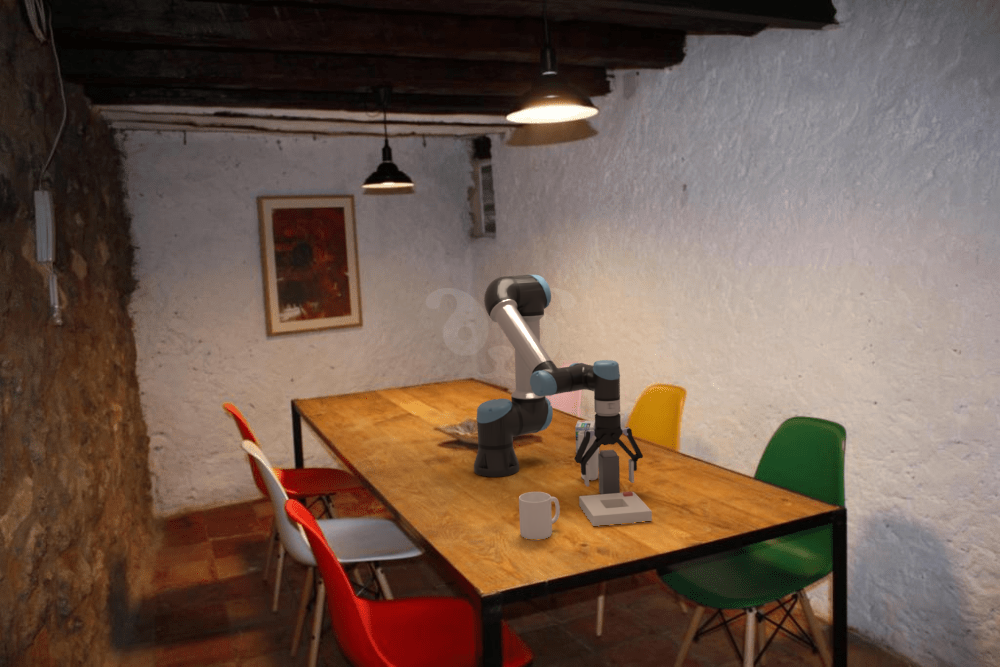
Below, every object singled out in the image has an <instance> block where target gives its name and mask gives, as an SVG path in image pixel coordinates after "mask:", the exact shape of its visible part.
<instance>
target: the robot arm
mask: <svg viewBox="0 0 1000 667" xmlns="http://www.w3.org/2000/svg"><path fill="white" fill-rule="evenodd" d="M551 302H552V291H551V288H550V285H549V283H548V282H547V281H546V279H545V277H543V276H541V275H538V274H521V275H509V276H507V275H506V276H503V275H502V276H499V277H497V278H495V279H494V280H492V281H491V282H489V284H488V285H487V287H486V289H485V293H484V298H483V303H484V308H485V311H486V313H487V315H488V317H489V318H490V319H491V321H492V322H494V323H497V324H498V326H499V327H500V329H501V330H502V332H503V333H504V335H505V336H506V338H507V339H508V341H509V342H510V344H511V346H512V347H513V349H514V371H515V372H514V373H515V374H514V375H515V381H514V382H515V390H514V391H513V392H512V393H511V395H510V397H511V400H510V399H508V398H498V399H496V398H495V399H491V400H487V401H484V402H481V403H480V404H479V405H478V407H477V409H476V424H477V425H476V426H477V427H476V429H477V445H478V446H477V447H478V448H477V453H476V456H475V459H474V464H473V472H474V473H475V474H477V475H478V476H481V475H482V476H481V477H486V476H487V478H497V477H498V478H500V477H506V476H511V475H514V474H516V473H518V472H519V471H520V463H519V460H518V457H517V454H516V451H515V449H514V438H515V437H519V436H525V435H528V434H529V435H530V434H536V433H539V432H542V431H545V430H546V429H547V428H548V427H550V425H551V423H552V420H553V415H554V414H553V413H554V412H553V409H554V408H553V406H552V405H551V404H552V402H551V400H550V399H548V398H547V397H550V396H553V395H558V394H564V393H570V392H576V391H577V392H578V391H583V390H584V391H585V390H586V391H592V392H593V396H594V398H593V399H594V400H593V401H594V405H593V406H594V413H595V414H594V421H595V430H594V431H588V430H585V432H584V438H583V440H582V443H581V445H580V447H579V449H578V452H577V454H576V453H575V456H574V462H576V463H577V464H581V465H580V474H581V473H582V475H584V479H585V480H584V479H583V480H584V485H585V486H586V487H590V481H589V465H588V464H587V462H588V460H589V459H590V458H591V457H592V455H593V454H594V453H595V451H596V450H597V449H598V448H599V447H601V446H602V445H603V446H608V445H611V446H612V445H616V443H617V445H618V446H619V447H621V449H622V450H624V452H625V453H626V454H627V456H629V458H628V480H629V482H630V483H633V484H634V483H635V472H637V471H638V461H639V459H643V457H644V455H643V453H642V451H641V449H640V448H639V445H638V443H637V442H636V439H635V438H634V436H633V431H632V428H630V427H629V426H625V428H622V425H621V424H622V423H621V419H622V418H621V413H620V412H621V388H620V387H621V382H620V381H621V380H620V379H621V374H620V366H619V365H620V364H619V362H618V361H616V360H610V359H604V360H596V361H594V362H593V365H592V364H586V363H583V362H573V363H571V364H570V365H569V366H565V367H564V366H563V367H557V365H556V363H554V361H553V360H552V358H551V357H550V356H549V354H548V352H547V351H546V350H545V348H544V347H543V345H542V344H541V327H540V325H541V324H540V320H541V319H542V318H543V317H544V316H545V309H547V308H548V307H549V306H550V303H551ZM593 435H594V436H595V437H596V439H595V441H594V442H593V444H592V445H591V447H590V448H589V449H588V451H587V452H586V453H585V455H584V456H583V454H584V452H585V450H586V447H587V445H588V443H589V441H590V438H592V436H593ZM622 435H624V436H626V438H627V439H628V441H629V443H630V445H631V447H632V449H633V450H634V453H635V454H634V453H633V452H632V451H631V450H630V448H629V447H628V446H627V445H626V444H625V442H623V441H622V440H621V439H620V438H621V436H622ZM513 437H514V438H513ZM582 456H583V457H582Z"/></svg>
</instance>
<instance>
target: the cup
mask: <svg viewBox="0 0 1000 667" xmlns="http://www.w3.org/2000/svg"><path fill="white" fill-rule="evenodd" d="M552 502H554V505H555V514H554V516H552V515H553V514H552ZM518 508H519V509H518V510H519V512H518V513H519V533H520V536H521V538H523V537H524V538H523V539H525V538H527V539H536V540H535V541H538V540H537V539H544V540H546V539H545V538H547V539H548V537H549V538H550V537H551V536H552V533H553V524H554V523H556V522H557V521H558V519H559V517H560V514H561V513H560V510H561V508H560V502H559V499H558V498H557V497H555V496H551V494H550V493H546V492H543V491H529V492H525V493H522V494H520V495H519V497H518ZM527 539H526V540H527Z"/></svg>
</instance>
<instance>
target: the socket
mask: <svg viewBox="0 0 1000 667" xmlns="http://www.w3.org/2000/svg"><path fill="white" fill-rule="evenodd" d="M578 498H579V499H578V501H579V504H578V505H579V508H580V507H581V508H580V510H581V511H582V510H583V511H582V513H583V514H584V513H585V514H584V516H585V517H586V516H587V517H586V518H587V520H588V519H589V520H590V521H589V520H588V521H589V522H591V523H592V524H591V523H590V524H591V526H592V525H593V526H598V527H600V526H599V525H609V526H611V525H610V524H621V525H623V524H622V523H632V524H635V523H634V522H642V521H652V522H653V513H652V512H653V511H652V510H651V508H649V507H648V505H647V504H646V503H645V502H644V501H643V500H642V499H641V498H640V497H639V496H638V494H636V492H634V491H631V490H630V491H622V492H620V493H612V494H600V493H599V494H588V495H580V496H578ZM593 526H592V527H593Z"/></svg>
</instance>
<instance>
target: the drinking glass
mask: <svg viewBox="0 0 1000 667" xmlns="http://www.w3.org/2000/svg"><path fill="white" fill-rule="evenodd" d="M588 431H594V430H588ZM584 432H585V430H584V431H580V432H578V447H580V445H581V443H582V440H583V438H584ZM595 439H596V437H595V436H594V435H593V436H592V438H590V441H589V443H588V445H587V447H586V450H585V452H584V454H583V456H584V455H585V453H586V452H587V451H588V449H589V448H590V447H591V445H592V444H593V442H594V441H595ZM600 447H601V446H600ZM600 447H599V448H598V449H597V450H596V451H595V453H594V454H593V455H592V457H591V458H590V459H589V460H588V462H587V464H588V465H589V480H591V481H595V480H597V479H599V468H598V453H600ZM583 456H582V457H583ZM579 464H580V463H579ZM580 466H581V464H580ZM580 474H581V479H582V480H584V481H585V479H584V475H582V473H581V472H580Z"/></svg>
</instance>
